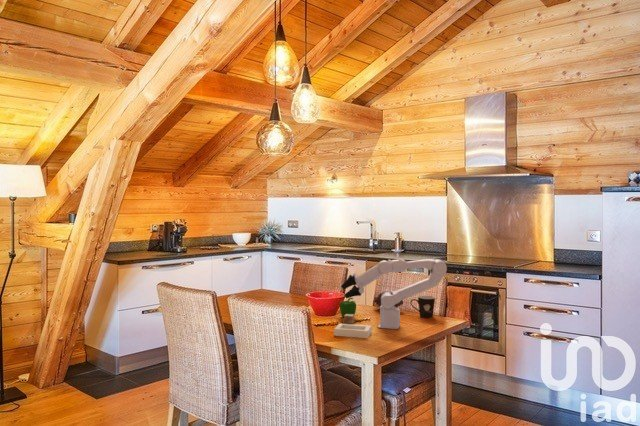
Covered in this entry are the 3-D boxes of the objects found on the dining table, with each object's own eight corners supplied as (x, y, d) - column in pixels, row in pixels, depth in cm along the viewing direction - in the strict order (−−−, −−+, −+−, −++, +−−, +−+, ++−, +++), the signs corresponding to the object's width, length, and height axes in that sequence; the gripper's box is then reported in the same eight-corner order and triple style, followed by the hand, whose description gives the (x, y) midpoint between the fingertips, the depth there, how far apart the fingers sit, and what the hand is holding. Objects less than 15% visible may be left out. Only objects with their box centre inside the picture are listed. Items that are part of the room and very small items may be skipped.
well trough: (371, 332, 238) (371, 325, 238) (367, 338, 229) (367, 331, 229) (339, 329, 242) (339, 323, 242) (334, 335, 233) (334, 328, 233)
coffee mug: (437, 316, 270) (437, 296, 269) (431, 319, 263) (431, 299, 262) (416, 313, 276) (416, 294, 276) (409, 316, 269) (409, 297, 268)
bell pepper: (337, 318, 265) (337, 298, 264) (342, 314, 272) (343, 295, 272) (353, 319, 262) (353, 299, 261) (358, 316, 269) (358, 296, 269)
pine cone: (406, 310, 283) (406, 291, 283) (398, 313, 275) (398, 294, 274) (376, 306, 293) (376, 288, 292) (368, 309, 284) (368, 291, 284)
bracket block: (354, 327, 248) (354, 314, 247) (352, 329, 244) (352, 316, 244) (345, 326, 249) (345, 313, 249) (344, 328, 245) (344, 315, 245)
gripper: (360, 263, 253) (336, 278, 255) (367, 279, 240) (342, 295, 242) (367, 273, 256) (344, 287, 258) (374, 290, 244) (350, 305, 245)
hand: (343, 292), depth 250 cm, fingers open, 7 cm apart
